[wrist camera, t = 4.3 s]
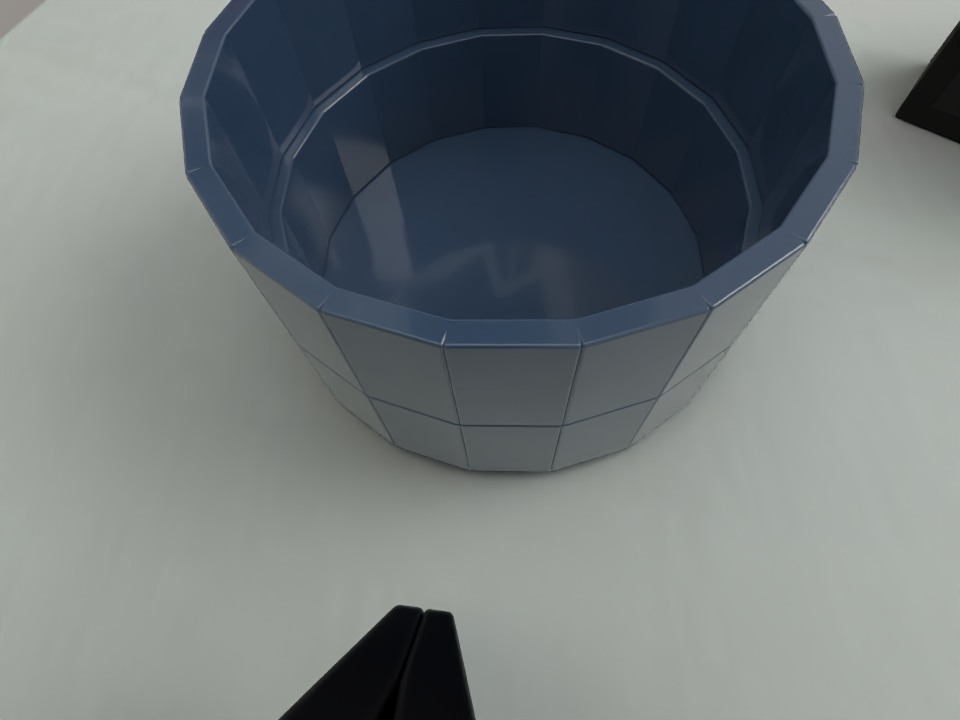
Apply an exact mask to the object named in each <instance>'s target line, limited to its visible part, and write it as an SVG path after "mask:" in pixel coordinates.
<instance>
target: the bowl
mask: <svg viewBox="0 0 960 720" xmlns="http://www.w3.org/2000/svg"><path fill="white" fill-rule="evenodd" d="M863 84H864V82H863V80H862V77H861V75H860V72H859V70H858V67H857V65H856V62H855V60H854V57H853V55H852V53H851V50H850V48H849V45H848V43H847V40H846V38H845V35H844V33H843V31H842V28H841V26H840V23H839V21H838V18H837V16H835V14H834V12H833V11H832V10H831V9H830V8H829V7H828V6H827V5H826V4H825V3H824V2H823V1H822V0H231V1H230V3H229V4H228V5H227V6H226V7H225V8H224V10H223V11H222V12H221V13H220V14H219V15H218V17H217V18H216V19H215V20H214V21H213V22H212V24H211V25H210V26H209V27H208V28H207V29H206V31H205V33H204V34H203V37H202V39H201V42H200V45H199V47H198V50H197V53H196V55H195V58H194V61H193V63H192V66H191V69H190V72H189V74H188V77H187V80H186V82H185V85H184V88H183V90H182V93H181V96H180V101H179V103H180V115H181V127H182V139H183V151H184V163H185V174H186V175H187V179H188V181H189V183H190V184H191V186H192V187H193V189H194V191H195V192H196V194H197V196H198V197H199V199H200V201H201V202H202V204H203V205H204V207H205V209H206V210H207V212H208V214H209V215H210V217H211V219H212V220H213V222H214V223H215V225H216V227H217V228H218V230H219V232H220V233H221V235H222V237H223V238H224V240H225V241H226V243H227V245H228V246H229V248H230V249H231V251H232V252H233V254H234V255H235V257H236V258H237V259H238V261H239V262H240V264H241V265H242V266H243V268H244V269H245V271H246V272H247V274H248V275H249V276H250V278H251V279H252V281H253V282H254V283H255V285H256V286H257V288H258V289H259V291H260V292H261V293H262V295H263V296H264V298H265V299H266V301H267V302H268V303H269V305H270V306H271V308H272V309H273V310H274V312H275V313H276V315H277V316H278V318H279V319H280V320H281V322H282V323H283V325H284V326H285V327H286V329H287V330H288V332H289V333H290V335H291V336H292V337H293V339H294V340H295V341H296V343H297V344H298V346H299V347H300V349H301V350H302V352H303V353H304V354H305V356H306V357H307V359H308V360H309V361H310V363H311V364H312V366H313V367H314V369H315V370H316V371H317V373H318V374H319V376H320V377H321V379H322V380H323V381H324V383H325V384H326V386H327V387H328V388H329V390H330V391H331V393H332V394H333V396H334V397H335V398H336V400H337V401H338V402H339V403H340V404H341V405H342V406H344V407H345V408H346V409H348V410H349V411H350V412H351V413H353V414H354V415H355V416H357V417H358V418H359V419H361V420H362V421H363V422H365V423H366V424H367V425H368V426H370V427H371V428H372V429H374V430H375V431H376V432H378V433H379V434H380V435H382V436H383V437H384V438H385V439H387V440H388V441H389V442H391V443H392V444H393V445H397V446H398V447H401V448H404V449H407V450H410V451H413V452H416V453H419V454H422V455H425V456H428V457H431V458H434V459H437V460H440V461H443V462H446V463H449V464H452V465H455V466H458V467H461V468H464V469H470V470H472V471H555V470H558V469H562V468H565V467H568V466H571V465H575V464H578V463H581V462H584V461H588V460H591V459H594V458H597V457H600V456H604V455H607V454H610V453H613V452H617V451H620V450H623V449H626V448H627V447H630V446H631V445H633V444H634V443H635V442H637V441H638V440H639V439H641V438H642V437H644V436H645V435H646V434H648V433H649V432H650V431H652V430H653V429H654V428H656V427H657V426H659V425H660V424H661V423H663V422H664V421H665V420H667V419H668V418H670V417H671V416H672V415H674V414H675V413H676V412H678V411H679V410H680V409H682V408H683V407H685V406H686V405H687V404H688V403H689V402H690V400H691V399H692V398H693V396H694V395H695V394H696V392H697V391H698V390H699V388H700V387H701V386H702V384H703V383H704V382H705V380H706V379H707V378H708V376H709V375H710V374H711V372H712V371H713V370H714V368H715V367H716V366H717V364H718V363H719V362H720V360H721V359H722V358H723V356H724V355H725V354H726V352H727V351H728V350H729V349H730V347H731V346H732V345H733V343H734V341H735V340H736V339H737V338H738V336H739V335H740V334H741V332H742V331H743V330H744V329H745V327H746V326H747V325H748V323H749V322H750V321H751V319H752V318H753V317H754V315H755V314H756V313H757V311H758V310H759V309H760V307H761V306H762V305H763V303H764V302H765V301H766V299H767V298H768V297H769V295H770V294H771V293H772V291H773V290H774V289H775V287H776V286H777V285H778V283H779V282H780V281H781V279H782V278H783V277H784V275H785V274H786V273H787V271H788V270H789V269H790V267H791V266H792V265H793V263H794V262H795V261H796V259H797V258H798V257H799V255H800V254H801V253H802V251H803V250H804V249H805V247H806V246H807V245H808V243H809V242H810V240H811V239H812V237H813V236H814V234H815V232H816V231H817V229H818V228H819V226H820V224H821V223H822V221H823V220H824V218H825V217H826V215H827V213H828V212H829V210H830V209H831V207H832V206H833V204H834V202H835V201H836V199H837V198H838V196H839V194H840V193H841V191H842V190H843V188H844V187H845V185H846V183H847V182H848V180H849V179H850V177H851V176H852V174H853V172H854V171H855V169H856V165H857V164H858V154H859V143H860V131H861V119H862V107H863V95H864V86H863Z"/></svg>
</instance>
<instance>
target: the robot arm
mask: <svg viewBox="0 0 960 720" xmlns="http://www.w3.org/2000/svg"><path fill="white" fill-rule="evenodd" d="M278 720H476V719H475V714H474V710H473V705H472V700H471V696H470V691H469V686H468V682H467V677H466V672H465V667H464V663H463V658H462V653H461V649H460V644H459V639H458V635H457V630H456V625H455V620H454V616H453V615H452V613H451V612H446V611H439V610H432V609H428V610H426V611H425V612H424V611H423V610H422V609H421V608H418V607H411V606H403V605H397V606H395V607H394V608H393V609H392V610H391V611H389V612H388V613H387V614H386V615H385V616H384V617H383V618H382V619H381V620H380V621H379V622H378V623H377V624H376V625H375V626H374V627H373V628H372V629H371V630H370V631H369V632H368V633H367V634H366V635H365V636H364V637H363V638H362V639H361V640H360V641H359V642H358V643H357V644H356V645H355V646H353V647H352V648H351V649H350V650H349V651H348V652H347V653H346V654H345V655H344V656H343V657H342V658H341V659H340V660H339V661H338V662H337V663H336V664H335V665H334V666H333V667H332V668H331V669H330V670H329V671H328V672H327V673H326V674H325V675H324V676H323V677H322V678H321V679H320V680H319V681H317V682H316V683H315V684H314V685H313V686H312V687H311V688H310V689H309V690H308V691H307V692H306V693H305V694H304V695H303V696H302V697H301V698H300V699H299V700H298V701H297V702H296V703H295V704H294V705H293V706H292V707H291V708H290V709H289V710H288V711H287V712H286V713H285V714H284V715H282V716H281V717H280V718H279V719H278Z"/></svg>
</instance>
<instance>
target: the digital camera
mask: <svg viewBox="0 0 960 720" xmlns="http://www.w3.org/2000/svg"><path fill="white" fill-rule="evenodd" d="M895 116H897V117H900V118H902V119H905V120H907V121H910V122H912V123H914V124H917V125H919V126H922V127H924V128H927V129H929V130H932V131H934V132H937V133H939V134H942V135H944V136H947V137H949V138H952V139H954V140H957V141H959V142H960V21H959V22H958V24H957V25H956V26H955V28H954V29H953V30H952V32H951V33H950V35H949V36H948V37H947V39H946V40H945V42H944V43H943V44H942V46H941V47H940V49H939V50H938V51H937V53H936V54H935V55H934V57H933V58H932V60H931V61H930V63H929V65H928V66H927V68H926V69H925V71H924V72H923V74H922V75H921V77H920V78H919V80H918V81H917V83H916V84H915V86H914V87H913V89H912V90H911V92H910V93H909V95H908V96H907V98H906V99H905V101H904V102H903V104H902V105H901V107H900V108H899V110H898V112H897V113H896V115H895Z"/></svg>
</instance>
